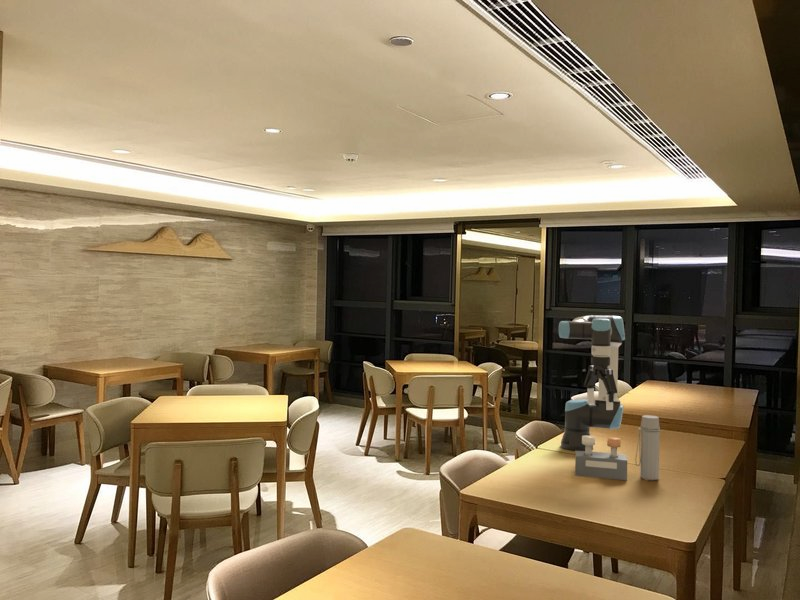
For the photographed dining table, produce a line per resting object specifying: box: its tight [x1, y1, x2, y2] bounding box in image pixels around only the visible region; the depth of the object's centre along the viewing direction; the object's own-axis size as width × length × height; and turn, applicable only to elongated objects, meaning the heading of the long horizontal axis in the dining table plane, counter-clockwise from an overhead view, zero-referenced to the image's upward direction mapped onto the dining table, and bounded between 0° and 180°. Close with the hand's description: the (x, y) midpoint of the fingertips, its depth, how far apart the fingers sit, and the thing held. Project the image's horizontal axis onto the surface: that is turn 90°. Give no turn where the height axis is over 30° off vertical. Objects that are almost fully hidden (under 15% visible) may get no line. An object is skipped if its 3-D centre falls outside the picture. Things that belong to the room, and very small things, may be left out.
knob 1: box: [582, 435, 596, 455], centre depth 265 cm, size 5×5×11 cm
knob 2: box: [606, 436, 622, 458], centre depth 262 cm, size 5×5×11 cm
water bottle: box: [635, 414, 661, 481], centre depth 259 cm, size 9×8×25 cm
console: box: [574, 451, 628, 481], centre depth 263 cm, size 10×20×8 cm, turn 74°
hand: (599, 406), depth 266 cm, fingers open, 13 cm apart
